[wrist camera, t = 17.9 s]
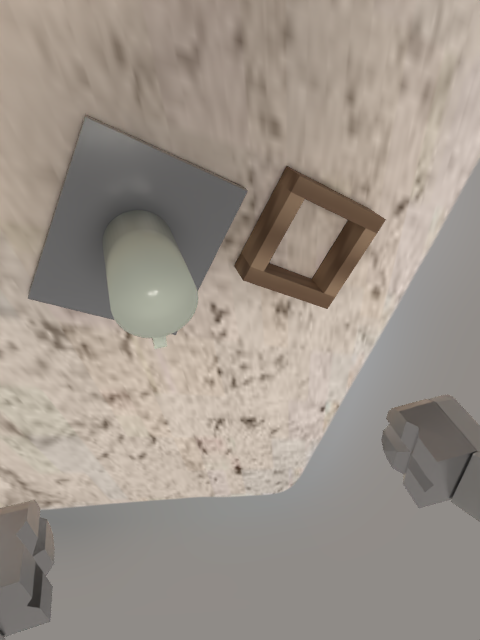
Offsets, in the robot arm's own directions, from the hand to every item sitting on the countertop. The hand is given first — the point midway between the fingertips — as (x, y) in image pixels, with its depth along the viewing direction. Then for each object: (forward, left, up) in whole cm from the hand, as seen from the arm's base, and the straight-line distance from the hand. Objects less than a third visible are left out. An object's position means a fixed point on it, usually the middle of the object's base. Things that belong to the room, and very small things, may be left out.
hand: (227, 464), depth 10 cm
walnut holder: (+1, +19, -31) cm, 36 cm away
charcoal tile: (+7, +4, -31) cm, 32 cm away
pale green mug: (+8, +4, -30) cm, 31 cm away
